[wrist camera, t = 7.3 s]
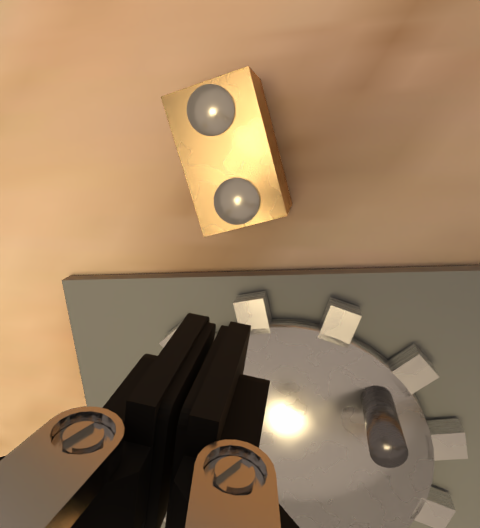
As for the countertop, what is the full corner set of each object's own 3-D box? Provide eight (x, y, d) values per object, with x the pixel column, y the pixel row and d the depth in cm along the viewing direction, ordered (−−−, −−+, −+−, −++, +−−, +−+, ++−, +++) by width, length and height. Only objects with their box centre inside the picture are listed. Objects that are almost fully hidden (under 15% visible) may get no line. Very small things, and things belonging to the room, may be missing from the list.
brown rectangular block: (261, 80, 26) (247, 65, 21) (292, 203, 28) (286, 216, 23) (188, 104, 27) (158, 96, 22) (222, 221, 29) (202, 238, 24)
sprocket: (303, 217, 26) (299, 240, 20) (535, 481, 29) (594, 573, 22) (76, 410, 34) (22, 470, 28) (272, 608, 36) (262, 704, 30)
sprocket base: (533, 263, 26) (561, 279, 23) (498, 581, 33) (517, 625, 30) (70, 275, 32) (45, 289, 29) (122, 541, 39) (105, 574, 36)
